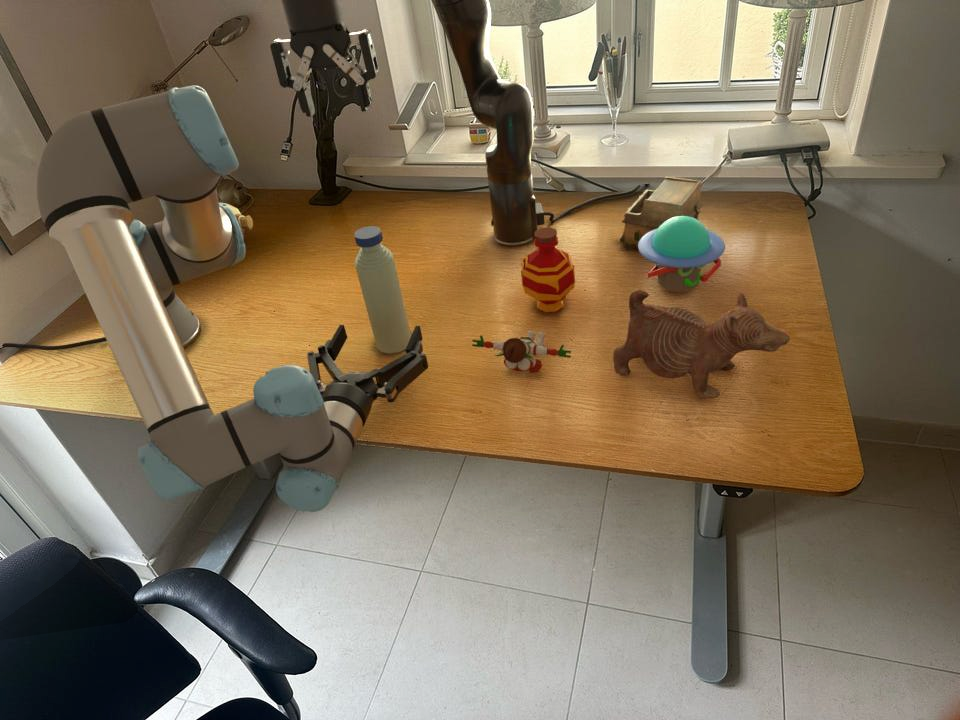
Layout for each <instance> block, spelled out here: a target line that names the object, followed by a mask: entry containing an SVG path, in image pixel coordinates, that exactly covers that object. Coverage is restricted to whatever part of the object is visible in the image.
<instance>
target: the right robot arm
mask: <svg viewBox="0 0 960 720" xmlns="http://www.w3.org/2000/svg"><path fill="white" fill-rule="evenodd" d="M280 2H281V4H282V9H283V12H284V15H285V16H284V17H285V19H286V24H287V28H288V30H289V33H290V39H282V38H281V37H278V38H276V39H275V40H273V41H272V42H271V44H270V45H269V46H270V47H269V48H270V51H271V52H270V53H271V55H272V59H273V63H274V67H275V70H276V75H277V79H278V82H279V85H280V87H282V88H284V89H286V88H289V89H292V90H294V91H295V93H296V96H297V101H298V103H299V107H300V110H301V112H302V113H303V114H305V116H306V117H307V118H310V117H313V116H314V115H315V114H316V108H315V104H314V101H313V100H314V99H313V98H312V93H311V88H310V86H309V85H308V86H307V83H308V79H309V77H310V74H311V72H312V70H314V72H317V71H318V72H319V71H322V70H324V69H327V70H336V69H338V68H340V69H341V70H342V72H343V73H344V74H346V75H349V77H350V78H351V79H352V80H353V82H355V83H356V85H355V88H356V93H357V97H358V102H359V107H360V110H361V112H368V111H369V109H370V107H371V105H372V102H373V97H372V92H371V88H370V83H369V81H371V80H374V79H375V78H376V77H377V76H378V74H379V72H380V66H379V62H378V58H377V53H376V48H375V43H374V40H373V35H372V31H371V30H370V29H369V28H364V29H363V30H362V31H357V32H350V30H349V29H348V27H347V25H346V21H345V20H346V19H345V16H344V11H343V7H342V2H341V0H281V1H280ZM431 3H432V5H433V7H434V11H435V13H436V15H437V18H438V20H439V22H440V25H441V27H442V29H443V31H444V34H445V36H446V38H447V42H448V44H449V46H450V49H451V51H452V54H453V57H454V59H455V61H456V64H457V66H458V70H459V71H460V75H461V79H462V82H463V86H464V90H465V92H466V96H467V99H468V103H469V106H470V109H471V112H472V114H473V116H474V118H475V119H476V120H477V122H479V123H480V124H481V125H483V126H485V127H488V128H490V129H494V130H495V131H496V143H493V144H491V145H490V146H488V147H487V148H486V150H485V154H484V155H485V156H484V158H485V166H486V175H487V182H488V183H487V184H488V191H489V200H490V201H489V202H490V210H491V216H492V217H491V218H492V219H491V221H490V224H491V227H492V228H493V239H494V241H495V242H496V243H497V244H498V245H502V246H505V247H519V246H524V245H526V244H529V243H531V242H532V241H534V239H535V231H536V230H538V226H545V225H546V223H545V216H549V218H548V220H549V222H551V223H554V222H556V221H558V220H559V219H562V218H564V217H566V216H568V215H569V214H571V213H572V212H574V211H576V210H578V209H580V208H583V207H584V206H588V205H589V204H592V203H596V202H598V201H602V200H606V199H611V198H619V197H623V196H628V195H630V194H633V193H635V192H637V191H638V190H639V189H640V188H641V187H642V186H640V185H638V184H637V185H636V186H635V187H633V188H632V189H630V190H627V191H622V192H617V193H610V194H604V195H600V196H596V197H593V198H591V199H587V200H585V201H583V202H580V203H578V204H576V205H573V206H572V207H570V208H568V209H567V210H565V211H564V212H562V213H560V214H559V215H557V216H555V214H554V213H553V212H552V211H544V210H543V206H542V204H541V202H540V201H539V202H536V197H535V195H534V186H533V185H534V183H533V182H534V181H533V172H532V171H533V169H532V155H531V154H532V149H533V146H534V107H533V99H532V96H531V94H530V90H529V89H528V88H527V87H526V85H524V84H521V83H519V82H514V81H511V80H508V79H502V77H501V76H500V74H499V73H498V71H497V68H496V66H495V63H494V61H493V57H492V55H491V50H490V46H489V45H490V44H489V41H490V34H491V26H492V25H491V24H492V9H491V5H490V1H489V0H431ZM352 43H353V44H355V46H356V47H355V48H356V49H358V50H360V51H361V55H362V59H363V64H364V67H365V69H364V68H363V67H362V66H361V64H359V61H358V60H357V58H356V57H355V56H354V55H353V54H352V53H351V52H350V51H349V50H350V47H351V45H352ZM291 50H292V51H293V52H294V53H295V54H296V55H297V57H298V58H299V59H301V60H300V62H299V64H298V68H297V70H296V76H294V75H293V72H292V68H291V64H290V60H289V56H290V54H291ZM644 185H645V186H650V183H649V184H644Z"/></svg>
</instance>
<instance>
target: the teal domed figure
mask: <svg viewBox="0 0 960 720" xmlns="http://www.w3.org/2000/svg"><path fill="white" fill-rule="evenodd" d="M638 249H639V251H638V252H639V254H640V255H641V256H642V257H643V258H645V260H648V261H649V262H651V263H653V264H655V265H654V267H653V268H651V270H649V271H648V272H647V279H650V278H653V277H656V281H657V283H658V285H659V286H660V287H661V288H663V289H665V290H667V291H671V292H674V293H683V292H688V291H691V290H693V289H695V288H697V287H698V286H699V284H700V283H701V282H702V283H706V282H708V281H709V279H710V278H711V277H712V276H713V275H714V274H715V273H716V272H717V270H718V269H719V268H720V267H721V265H722V260H721V256H722V255H723V254H724V253H725V250H726V244H725V242H724V240H723V238H722V237H721V236H720V235H718V234H717V233H716V232H714V231H712V230H710V229H708V228H707V227H706V226H705V225H704V224H703V222H701V220H699V219H698V220H697V219H695V218H692V217H689V216H677V217H673V218H670V219H669V220H667V221H665V222H664V223H663V224H662V225H661V226H660V227H659V228H657V229H654V230H652V231H650V232H648V233H647V234H645V235H644V236H643V237H642V238H641V239H640V241H639V243H638ZM711 263H713V264H714V265H713V266H712V267H711V268H710V270H709V271H708V272H706V274H702V269H704V268H705V267H706V266H707V265H709V264H711ZM700 281H701V282H700Z"/></svg>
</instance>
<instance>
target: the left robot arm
mask: <svg viewBox="0 0 960 720" xmlns="http://www.w3.org/2000/svg"><path fill="white" fill-rule="evenodd" d="M219 117H220V116H218V113H217V111H216V109H215V106H214V104H213V103H212V100H211V98H210V96H209V94H208V93H207V91H206V90H205V89H204V88H203V87H202V86H199V85H193V84H192V85H188V86H187V85H186V86H183V87H171V88H169V90H167V91H163V92H160V93H156V94H152V95H151V94H150V95H148V96H143V97H140V98H135V99H131V100H128V101H124V102H120V103H116V104H112V105H108V106H105V107H101V108H97V109H94V110H86V111H82V112H79V113H77V114H75V115H73V116H71V117H70V118H68V119H67V120H66V121H64V122H63V123H62V124H60V126H58V127H57V128H56V129H55V131H54V132H53V133H52V134H51V136H50V138H48V140H47V143H46V145H45V147H44V149H43V151H42V153H41V158H40V160H39V165H38V169H37V177H36V199H37V205H38V210H39V213H40V218H41V221H42V222H43V225H44V227H45V229H46V232H47V233H48V234H47V235H48V236H49V238H50V240H51V241H52V242H53V243H55V244H56V245H57V244H58V245H60V246H61V247H64V249H65V251H66V253H67V256H68V258H69V260H70V262H71V265H72V267H73V269H74V271H75V273H76V275H77V278H78V279H79V282H80V284H81V286H82V289H83V291H84V293H85V296H86V297H87V300H88V302H89V304H90V306H91V309H92V311H93V313H94V314H95V317H96V320H97V322H98V324H99V326H100V329H101V331H102V333H103V335H104V336H103V337H98V338H94V339H89V340H83V341H77V342H73V343H67V344H60V345H42V344H33V343H14V342H3V343H4V344H3V343H2V344H3V345H2V346H3V347H2V348H0V350H2V349H4V348H14V349H32V350H33V349H34V350H39V351H40V350H42V351H61V350H68V349H74V348H78V347H83V346H90V345H94V344H99V343H104V342H107V344H108V346H109V348H110V351H111V353H112V355H113V358H114V360H115V362H116V364H117V366H118V368H119V370H120V373H121V376H122V377H123V379H124V382H125V384H126V386H127V389H128V391H129V393H130V396H131V397H132V399H133V401H134V404H135V406H136V408H137V411H138V413H139V416H140V417H141V419H142V421H143V424H144V426H145V428H146V430H147V433H148V436H149V439H150V441H147V442H146V444H143V445H142V446H140V447H139V448H138V450H137V456H138V461H139V464H140V466H141V469H142V472H143V475H144V476H145V479H146V480H147V482H148V484H149V486H150V488H151V490H152V491H153V492H154V494H155V495H156V496H157V497H158V498H159V499H161V500H162V501H168V502H170V501H173V500H176V499H179V498H181V497H184V496H186V495H188V494H191V493H193V492H196V491H199V490H204V489H205V487H207V486H209V485H211V484H213V483H216V482H218V481H220V480H222V479H224V478H226V477H228V476H231V475H233V474H234V473H237V472H239V471H241V470H243V469H245V468H248V467H250V466H252V465H255V464H257V463H260V462H262V461H264V460H266V459H268V458H271V457H273V456H275V455H278V456H279V458H280V460H281V462H282V466H283V467H282V469H281V471H279V473H278V477H277V480H276V483H275V492H276V495H277V496H278V498H279V499H280V501H282V502H283V503H284V504H286V506H288V507H290V508H292V509H294V510H297V511H299V512H303V513H304V512H309V513H315V512H319V511H322V510H324V509H325V508H326V507H327V506H328V505H329V504H330V502H331V500H332V498H333V496H334V494H335V492H336V491H337V490H338V489H339V487H340V482H341V480H342V478H343V475H344V473H345V471H346V468H347V466H348V463H349V461H350V458H351V456H352V454H353V451H354V448H355V447H356V444H357V443H358V440H359V437H360V435H361V433H362V431H363V428H364V427H365V424H366V422H367V420H368V417H369V415H370V413H371V411H372V407H373V403H374V402H375V401H376V400H378V398H382V399H386V401H387V403H389V404H392V403H394V402H396V400H397V399H398V397H399V395H400V393H402V392H403V391H404V390H405V389H406V388H407V387H408V386H409V385H410V384H412V383H413V382H414V381H416V379H417V378H419V377H420V376H421V375H422V374H423V373H425V372H426V371H427V370H428V369H429V362H428V358H427V354H426V353H424V348H423V343H422V341H423V339H424V338H423V334H422V329H421V325H415V326H414V329H413V331H412V333H411V338H410V340H409V343H408V345H407V347H406V349H405V354H403V355H401V356H399V357H398V358H396V359H395V360H393V361H390V362H389V363H387V364H386V365H384V366H382V367H380V368H373V369H372V370H370V371H368V372H367V371H360V372H355V371H348V372H346V373H344V372H343V371H342V370H341V368H340V367H338V365H337V364H336V362H335V361H336V360H337V359H338V356H339V354H340V353H341V350H342V349H343V347H344V345H345V343H346V341H347V340H348V334H347V330H346V327H345V325H344V324H339V325H338V327H337V329H336V330H335V332H334V334H333V336H332V337H331V339H328V340H327V341H326V342H325V344H324V345H323V344H322V345H319V346H318V347H317V351H318V352H315V351H313V350H312V351H308V352H307V353H306V354H307V355H306V356H307V362H308V369H309V370H308V369H307V368H305V367H302V366H300V365H296V364H295V365H294V364H292V365H291V364H286V365H285V364H284V365H280V366H277V367H274V368H272V369H269V370H268V371H266V372H265V375H263V376H260V377H258V379H256V381H255V383H254V385H253V390H252V391H253V398H252V399H249V400H247V401H244V402H242V403H239V404H238V405H235V406H233V407H231V408H228V409H226V410H223V411H220V412H218V413H216V414H214V412H213V410H212V408H211V406H210V403H209V401H208V398H207V396H206V394H205V392H204V390H203V387H202V385H201V383H200V381H199V378H198V377H197V374H196V372H195V370H194V367H193V365H192V363H191V361H190V359H189V357H188V354H187V352H186V349H187V348H189V347H190V346H191V345H192V344H193V343H194V342H195V341H196V340H197V339H198V338H199V336H200V334H201V331H202V326H201V323H200V321H199V319H198V317H197V315H196V314H195V313H194V312H193V311H192V310H191V309H189V307H188V306H187V305H186V304H185V303H184V301H182V299H180V297H179V296H178V295H177V294H176V291H175V289H174V288H173V287H174V286H178V285H180V284H182V283H185V282H189V281H192V280H194V279H197V278H199V277H202V276H205V275H208V274H212V273H214V272H217V271H220V270H223V269H227V268H231V267H233V266H234V265H236V264H238V263H240V262H242V261H243V260H244V259H245V257H246V252H247V249H246V244H245V241H244V240H245V237H244V238H243V234H242V231H241V228H240V226H239V223H238V221H237V219H236V217H235V215H234V213H233V212H232V210H231V209H230V208H229V207H228V206H227V205H226V204H227V203H226V204H224V203H225V202H219V196H218V191H217V189H218V187H219V186H220V184H221V182H222V181H223V180H222V179H223V177H224V176H228V175H230V174H231V173H234V172H235V171H237V170H238V168H239V166H240V163H239V160H238V157H237V156H236V153H235V151H234V148H233V147H232V144H231V142H230V139H229V137H228V135H227V133H226V130H225V129H224V126H223V124H222V122H221V120H220V118H219ZM152 197H155V198H157V199H158V201H159V203H160V205H161V208H162V212H163V214H164V217H163V220H161V221H158V222H154V223H153V224H149V225H147V226H146V224H144V223H143V222H142V221H140V220H138V219H134V215H133V213H132V210H131V208H130V206H129V204H130V203H135V202H138V201H142V200H146V199H148V198H152ZM320 364H322V365H323V367H324V368H325V370H326V371H327V373H328V374H329V376H330V378H331V379H332V381H330V382H329V383H327V384H326V385H324V383H323V382H322V378H321V373H320V367H319V365H320ZM374 378H375V380H374Z"/></svg>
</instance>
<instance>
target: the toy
mask: <svg viewBox="0 0 960 720" xmlns="http://www.w3.org/2000/svg"><path fill="white" fill-rule="evenodd" d="M526 335H527V336H520V337H511V338H509V339H507V340H506V341H498V342H497V340H494V341H493V342H492V341H489V340H488V341H484V337H483V335H482V334H480V336H479V339H472V340H471V342H474V343H472V344H471V346H472V347H475V348H486V349H493V351H496V350H497V351H500V352H498V353H497V354H494V356H495V357H504V359H503V365H504V366H505V367H506V368H507V369H509V370H511V371H514V372H518V373H519V372H528V371H529V373H530V374H536V373H539V372H540V371H541V369H542V367H543V362H542V360H540V359H538V358H535V357H534V356H545V357H547V356H548V355H549V356H552V357H556V356H557V357H559V358H561V357H562V358H567V359H568V358H570V359H571V357H572V356H571V355H569V354H572V350H566V349H564V346H565V345H564V344H561V346H560V347H559V349H557V348H549V347H548V346H545V344H544V341H545V338H546V333H545V332H544V331H538V332H537V333H536V331H533V330H528V331H527V333H526ZM536 335H537V338H536V340H535V336H536ZM544 346H545V347H544Z"/></svg>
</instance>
